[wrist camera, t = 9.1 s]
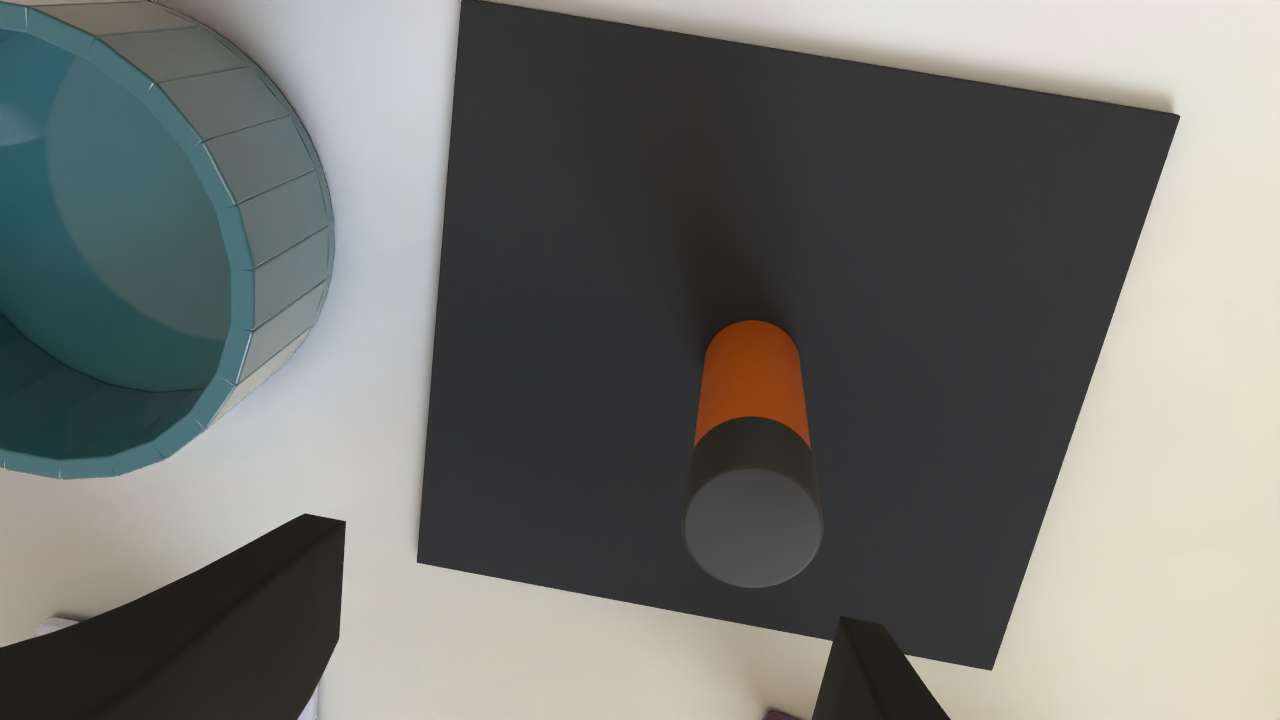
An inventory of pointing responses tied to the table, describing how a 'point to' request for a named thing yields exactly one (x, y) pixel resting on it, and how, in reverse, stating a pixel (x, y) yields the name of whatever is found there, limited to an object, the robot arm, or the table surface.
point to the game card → (776, 716)
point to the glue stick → (752, 462)
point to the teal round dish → (143, 234)
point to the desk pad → (767, 313)
